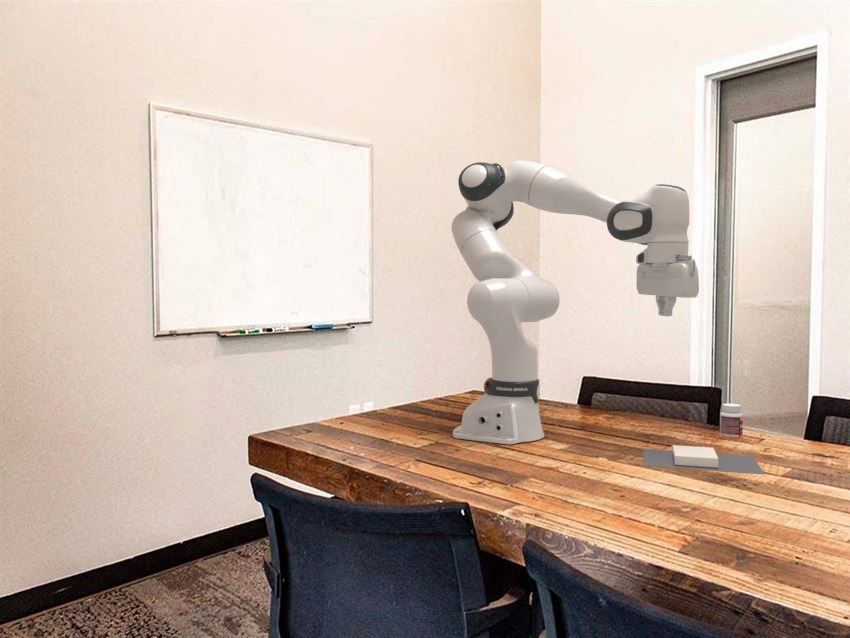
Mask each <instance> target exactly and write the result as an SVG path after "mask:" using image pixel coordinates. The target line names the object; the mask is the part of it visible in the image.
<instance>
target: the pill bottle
mask: <svg viewBox="0 0 850 638" xmlns="http://www.w3.org/2000/svg"><path fill="white" fill-rule="evenodd" d="M721 408H722V409H721V410H722V411H721V412H720V415H719V416H720V417H719V418H720V420H719V421H720V424H719V425H720V431H719V432H720V434H719V435H720V436H719V437H720V438H722V439H725V440H734V441H737V440H738V441H739V440H742V439H743V426H744V425H743V423H744V422H743V420H744V417H743V414H742V405H741V404H738V403H723V404H722V407H721Z"/></svg>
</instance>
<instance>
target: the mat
mask: <svg viewBox="0 0 850 638" xmlns="http://www.w3.org/2000/svg"><path fill="white" fill-rule="evenodd" d="M716 454H717V457H718V468H705V467H691V466H677V465H675V462H674V457H673V450H667V449H666V450H665V449H654V448H653V449H652V448H642V456H643V457H642V459H643V461H642V462H643V467H652V468H653V467H654V468H655V467H656V468H670V469H684V470H697V471H698V470H699V471H710V472H711V471H712V472H726V473H740V474H752V475H754V474H755V475H764V476H765V472H764V471H763V469H762V468H761V466H760V464H759V462H758V461H757V460H756V458H755V457H754V456H753V455H746V454H745V455H744V454H731V453H729V454H728V453H718V452H717V453H716Z"/></svg>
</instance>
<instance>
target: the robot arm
mask: <svg viewBox="0 0 850 638" xmlns="http://www.w3.org/2000/svg"><path fill="white" fill-rule="evenodd" d="M457 181H458V187H459V188H458V189H459V191H460V194H461V196H462V197H463V198H464V200H465V203H466V205H467V206H466V207H465V210H463V211H461V212H459V213H458V214H457V215H456V216H455V217H454V218H453V220H452V223H451V232H452V236H453V239H454V242H455V245H456V246H457V249H458V251H459V253H460V255H461V256H462V258H463V260H464V261H465V263H466V265H467V267H468V268H469V270H470V272H471V273H472V274H471V275H473V277H474V278H475V279H476V280H477V282H475V283H474V284H472V286H471V287H470V288H469V291H468V293H467V299H466V304H467V309H468V312H469V314H470V316H471V317H472V319H474V320H475V321H476V322H477V323H478V324H479V325H480V326H481V327H482V329H483V331H484V332H485V334H486V336H487V338H488V343H489V346H490V352H491V354H490V355H491V375H492V376H491V377H488V378H487V379H486V380H485V382H484V383H483V390H484V392H485V393H484V394H482V395H481V396H479V398H477V399H476V400H475V401H473V402H472V403H471V404H470V405H468V406H467V407H466V408H465V409H464V412H463V414H462V417H461V418H462V419H461V425H458V426H457V427H455V428H454V429H453V431H452V437H453V438H455V439H460V440H461V439H462V440H467V441H475V442H485V443H492V444H493V443H495V444H501V445H502V444H503V445H514V444H518V443H527V442H533V441H534V442H535V441H538V440H541V439H543V438H545V432H544V430H543V426H542V421H541V417H540V416H541V415H540V407H539V402H540V399H541V397H540V396H541V388H540V387H541V385H540V379H539V378H538V350H537V347H536V344H534V343H533V342H532V341H531V340H529V339H528V338H526V336H525V333H524V331H523V327H522V323H535V322H540V321H543V320H546V319H548V318H551V317H553V316H554V315H555V314H556V313H557V311H558V309H559V306H560V293H559V290H558V288H557V286H556V285H555V284H554V283H553V282H551V281H549V280H547V279H545V278H542V277H541V276H539V275H538V274H537V273H535V272H534V271H533V270H531V269H530V268H528V267H527V266H526V265H525V264H524V263H522V261H520V260H519V259H518V258H517V257H516V256H515V255H514V254H513V253H512V252H511V250H510V249H509V247H508V246H507V244H506V243H505V241H504V240H503V239H502V237H501V236H500V234H499V232H498V230H499V229H501V228H503V227H504V226H505V225H507V224H508V223H509V222H510V221H511V219H512V218H513V216H514V213H515V212H514V210H515V207H514V203H513V202H518V203H519V202H520V203H524V204H525V205H528V206H531V207H532V208H535V209H538V210H541V211H544V212H549V213H554V214H560V215H561V214H563V215H576V216H585V217H589V218H593V219H595V220H598V221H601V222H604V223H605V224H606V227H607V231H608V232H609V234H610V235H611V237H613V238H614V239H617V240H618V241H621V242H624V243H631V244H639V245H642V246H643V245H644V246H647V247H646V248H645V249H644V250H642V251H641V252H639V253H638V254H636V259H635V261H636V264H637V265H638V266H637V268H636V290H637V293H638V294H639V295H644V296H655V303H656V305H657V308H658V309H657V311H658V315H659V317H660V316H662V317H672V316H673V309H674V307H675V305H676V303H677V298H691V299H693V298H697V297H698V295H699V292H700V279H699V270H698V266H697V265H696V264H697V263H696V260H695V259H694V257H693V256H692V255H690V254H689V237H688V228H689V225H690V200H689V199H690V198H689V194H688V192H687V191H686V190H685V188H682V187H681V186H677V185H672V184H663V183H661V184H655V185H652V186H651V187H650V188H649V189H648V190H647V191H645V192H643V193H642V194H640V195H638V196H636V197H634V198H630V199H627V200H625V201H623V200H622V201H621V200H618V199H616V198H613V197H610V196H608V195H605V194H602V193H600V192H598V191H595V190H594V189H592V188H590V187H588V186H587V185H586V184H583V183H582V182H580V181H579V180H577V179H575V178H574V177H572V176H570V175H569V174H568V173H565V172H564V171H561V170H560V169H558V168H555V167H553V166H549V165H547V164H544V163H541V162H536V161H531V160H525V159H516V160H514V161H512V162H511V163H510V164H508V166H507V167H506V168H504V167H503V166H502V165H500V164H499V163H488V162H482V161H481V162H480V161H479V162H474V163H471V164H469V165H467V166H466V167H465V168H463V169H462V171H460V174H459V175H458V179H457Z"/></svg>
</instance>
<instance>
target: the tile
mask: <svg viewBox="0 0 850 638" xmlns="http://www.w3.org/2000/svg"><path fill="white" fill-rule="evenodd" d="M672 451H673V457H674V462H675V465H677V466H691V467H705V468H718V457H717V454H716V451H715V448H714V447H707V446H691V445H675V444H672Z"/></svg>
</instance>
